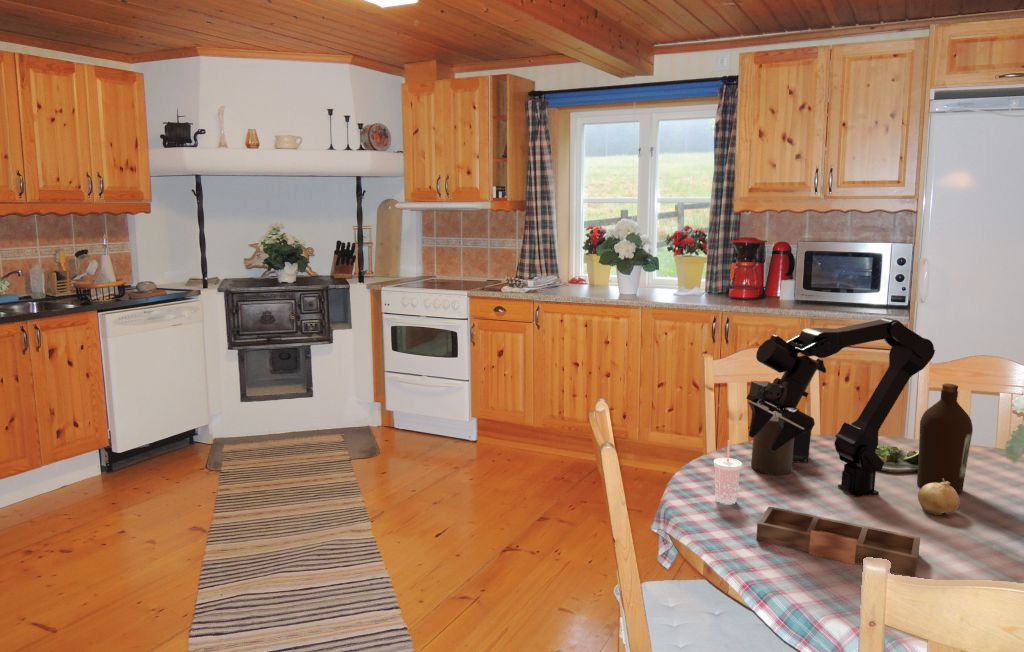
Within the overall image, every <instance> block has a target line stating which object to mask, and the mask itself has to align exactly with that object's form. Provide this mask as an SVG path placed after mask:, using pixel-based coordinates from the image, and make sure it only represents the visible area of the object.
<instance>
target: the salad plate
mask: <svg viewBox="0 0 1024 652" xmlns="http://www.w3.org/2000/svg"><path fill="white" fill-rule="evenodd" d="M875 453H876V454H877V455H878V456H879V457H880V458H881V460H882V461H883V462H884V465H883V467H882V470H881V471H882V472H883V471H884V472H889V473H894V472H895V473H918V472H917V471H918V460H919V449H917V450H909V451H908V450H905V449H902V448H899V447H897V446H894V445H892V446H891V445H880V446H879V445H878V446H877V449H876V451H875Z"/></svg>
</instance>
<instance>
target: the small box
mask: <svg viewBox="0 0 1024 652" xmlns="http://www.w3.org/2000/svg"><path fill="white" fill-rule="evenodd" d="M804 430H805V431H806V433H801V434H800V435H798V436H796V437H794V447H793V458H792V463H801V464H808V463H809V459H810V445H811V437H812V435H811V434H812V430H811V431H809V430H807V429H805V428H804Z"/></svg>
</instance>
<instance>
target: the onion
mask: <svg viewBox="0 0 1024 652" xmlns="http://www.w3.org/2000/svg"><path fill="white" fill-rule="evenodd" d="M942 480H943V481H944V478H943V479H942ZM949 484H950V482H948V481H944V482H941V483H936V482H934V483H929V484H926V485H924V486H923V487H922V488H919V490H918V493H917V500H918V502H919V503H918V504H919V505H920V506H921V508H922V509H923V510H924V511H925V510H926V511H925V512H927V513H929V512H930V513H929V514H932V513H933V515H935V514H936V516H942V514H946V515H947V516H951V515H953V514H954V513H955V512H956V511H957V510H958V509H959V507H960V502H961V500H960V496H959V495H958V494H957V492H956V491H955V489H954V488H952V487H951V486H950V485H949Z"/></svg>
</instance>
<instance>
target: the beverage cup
mask: <svg viewBox="0 0 1024 652" xmlns="http://www.w3.org/2000/svg"><path fill="white" fill-rule="evenodd" d="M730 449H731V440H729V439H727V449H726V450H727V451H726V457H718V458H717V457H716V458H714V459H713V466H714V501H715V502H717V501H718V502H720V503H719V504H721V503H725V504H724V505H733V504H732V503H734V504H736V503H737V498H738V491H739V482H740V481H739V480H740V474H741V469H742V467H743V462H741V460H738V459H735V458H732V457H730ZM718 502H717V503H718ZM735 502H736V503H735Z"/></svg>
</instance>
